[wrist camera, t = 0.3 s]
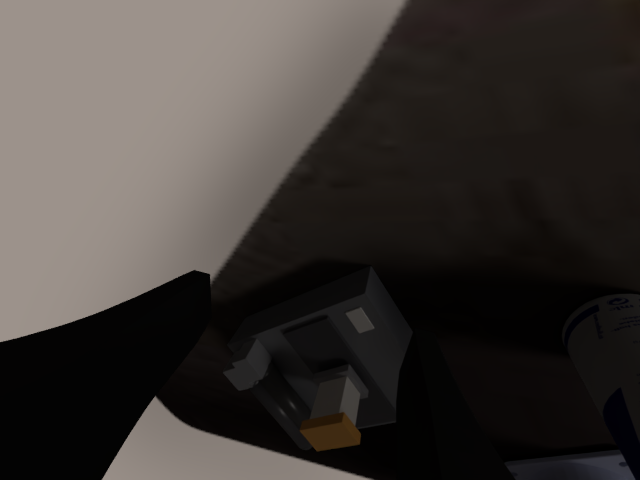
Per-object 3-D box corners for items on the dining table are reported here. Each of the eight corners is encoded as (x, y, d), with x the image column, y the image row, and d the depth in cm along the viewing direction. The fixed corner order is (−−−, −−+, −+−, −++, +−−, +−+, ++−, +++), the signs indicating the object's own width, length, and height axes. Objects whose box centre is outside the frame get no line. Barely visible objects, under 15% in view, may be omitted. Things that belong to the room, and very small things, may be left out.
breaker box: (440, 375, 24) (446, 440, 20) (315, 404, 29) (298, 462, 25) (371, 265, 21) (360, 314, 17) (245, 317, 26) (213, 365, 22)
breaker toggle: (370, 390, 21) (362, 448, 18) (333, 399, 22) (319, 454, 19) (350, 363, 21) (339, 418, 17) (313, 373, 22) (296, 427, 19)
